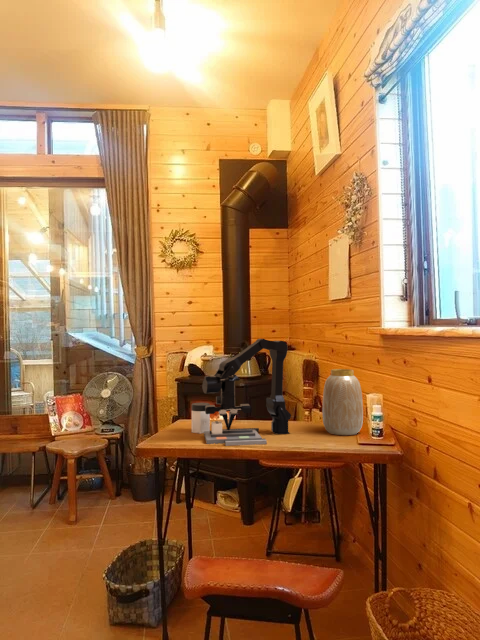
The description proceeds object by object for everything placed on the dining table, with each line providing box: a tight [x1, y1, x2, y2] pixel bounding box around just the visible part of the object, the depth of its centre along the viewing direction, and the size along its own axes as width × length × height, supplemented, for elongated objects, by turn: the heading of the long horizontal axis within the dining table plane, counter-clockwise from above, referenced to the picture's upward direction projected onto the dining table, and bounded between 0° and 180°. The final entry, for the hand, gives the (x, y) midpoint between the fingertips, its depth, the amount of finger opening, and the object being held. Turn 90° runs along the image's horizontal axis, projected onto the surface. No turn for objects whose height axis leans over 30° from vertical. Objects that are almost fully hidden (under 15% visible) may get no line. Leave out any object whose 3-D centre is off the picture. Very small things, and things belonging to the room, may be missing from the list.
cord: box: [222, 427, 260, 433], centre depth 196 cm, size 18×1×1 cm, turn 98°
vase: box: [322, 368, 364, 436], centre depth 196 cm, size 17×17×27 cm
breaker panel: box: [203, 429, 263, 445], centre depth 185 cm, size 22×16×2 cm
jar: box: [191, 402, 211, 434], centre depth 198 cm, size 9×8×12 cm
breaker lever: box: [211, 420, 223, 434], centre depth 184 cm, size 4×4×5 cm
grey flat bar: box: [224, 438, 268, 447], centre depth 175 cm, size 16×3×1 cm, turn 98°
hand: (228, 430), depth 185 cm, fingers closed
